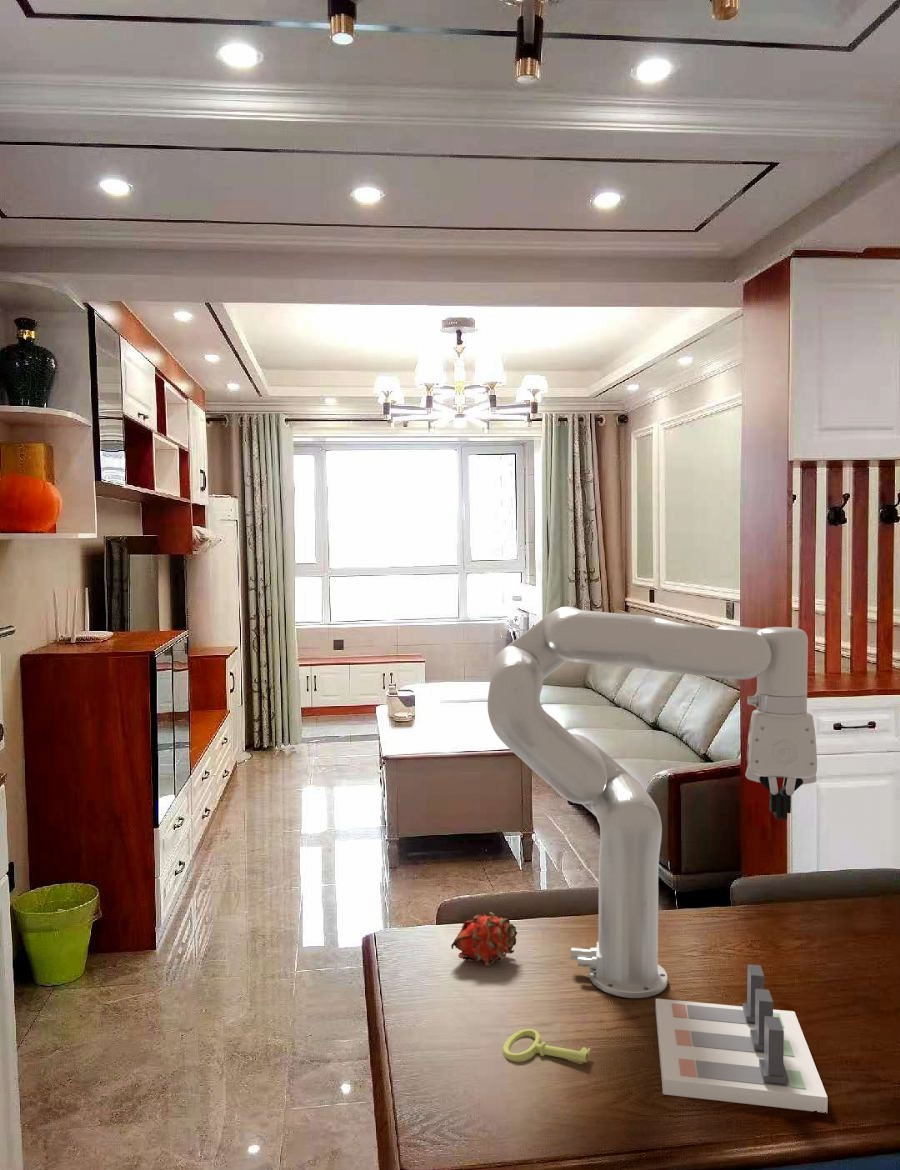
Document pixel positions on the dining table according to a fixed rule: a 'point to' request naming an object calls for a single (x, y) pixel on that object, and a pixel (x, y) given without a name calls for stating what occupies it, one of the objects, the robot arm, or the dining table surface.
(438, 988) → the dining table surface
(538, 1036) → the key
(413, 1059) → the dining table surface
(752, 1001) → the far switch
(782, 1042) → the switch
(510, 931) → the dragon fruit
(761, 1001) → the middle switch
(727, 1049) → the switch board
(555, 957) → the dining table surface
